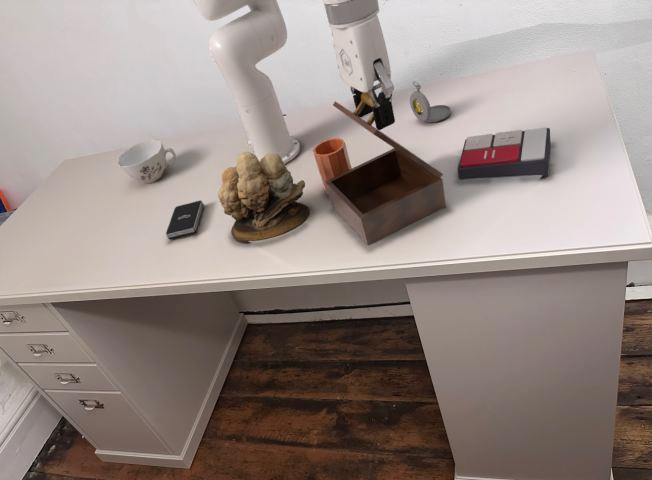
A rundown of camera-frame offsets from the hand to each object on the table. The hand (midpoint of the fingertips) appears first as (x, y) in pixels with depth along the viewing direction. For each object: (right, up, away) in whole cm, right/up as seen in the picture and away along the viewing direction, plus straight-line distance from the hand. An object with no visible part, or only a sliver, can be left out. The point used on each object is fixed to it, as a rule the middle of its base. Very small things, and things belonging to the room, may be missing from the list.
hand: (375, 118), depth 88 cm
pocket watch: (+18, +10, +32) cm, 38 cm away
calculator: (+26, -5, +11) cm, 29 cm away
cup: (-4, -7, +22) cm, 24 cm away
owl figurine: (-18, -15, +20) cm, 31 cm away
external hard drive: (-37, -14, +31) cm, 51 cm away
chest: (+4, -14, +12) cm, 18 cm away
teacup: (-50, +2, +54) cm, 74 cm away
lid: (+2, -3, +3) cm, 5 cm away
